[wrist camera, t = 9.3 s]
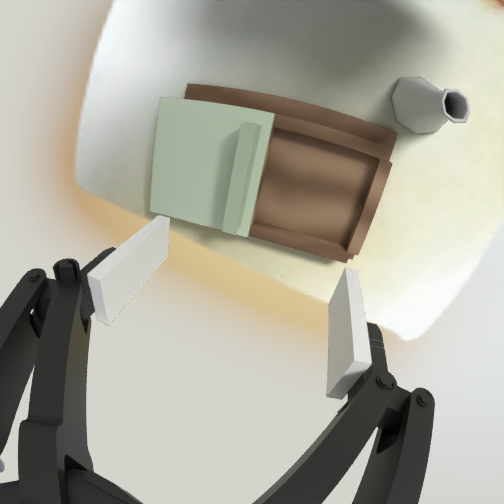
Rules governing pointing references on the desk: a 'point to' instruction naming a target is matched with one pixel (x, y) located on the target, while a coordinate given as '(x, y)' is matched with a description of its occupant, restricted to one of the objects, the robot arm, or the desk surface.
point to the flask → (427, 105)
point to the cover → (209, 162)
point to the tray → (313, 173)
